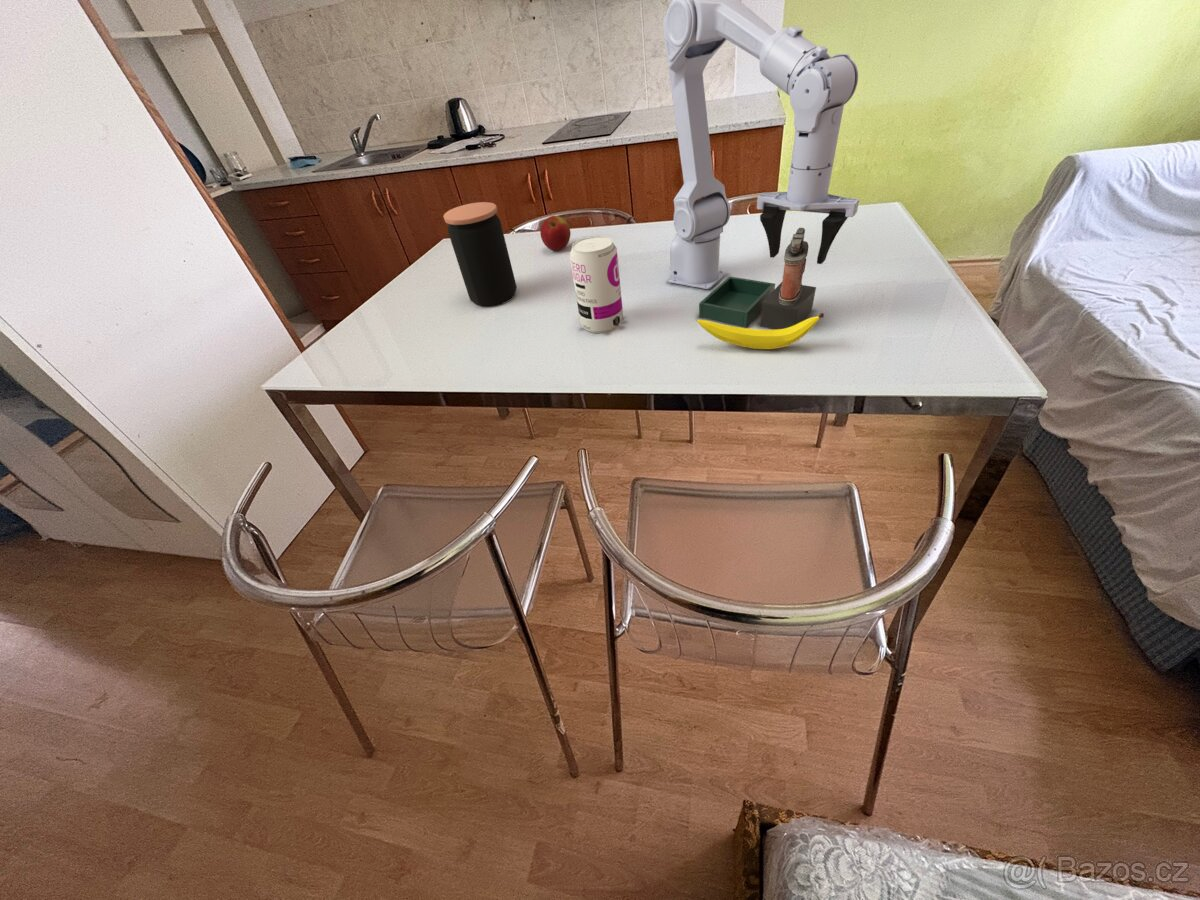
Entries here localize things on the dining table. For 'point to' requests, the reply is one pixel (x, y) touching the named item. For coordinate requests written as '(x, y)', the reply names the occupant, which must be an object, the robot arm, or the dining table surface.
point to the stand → (786, 309)
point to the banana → (759, 334)
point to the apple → (555, 233)
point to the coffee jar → (481, 253)
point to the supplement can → (597, 283)
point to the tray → (735, 301)
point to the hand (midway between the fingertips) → (797, 258)
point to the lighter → (793, 269)
